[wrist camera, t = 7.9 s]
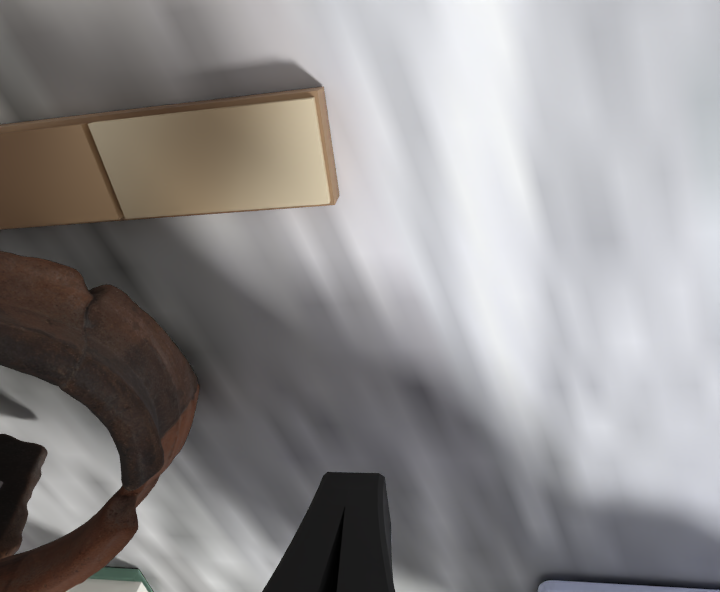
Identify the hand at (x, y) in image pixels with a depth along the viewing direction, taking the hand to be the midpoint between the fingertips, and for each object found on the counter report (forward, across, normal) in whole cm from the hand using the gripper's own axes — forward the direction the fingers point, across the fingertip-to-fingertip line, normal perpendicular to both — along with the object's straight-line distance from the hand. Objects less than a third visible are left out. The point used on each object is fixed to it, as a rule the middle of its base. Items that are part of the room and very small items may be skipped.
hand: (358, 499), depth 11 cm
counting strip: (+3, +10, -8) cm, 12 cm away
